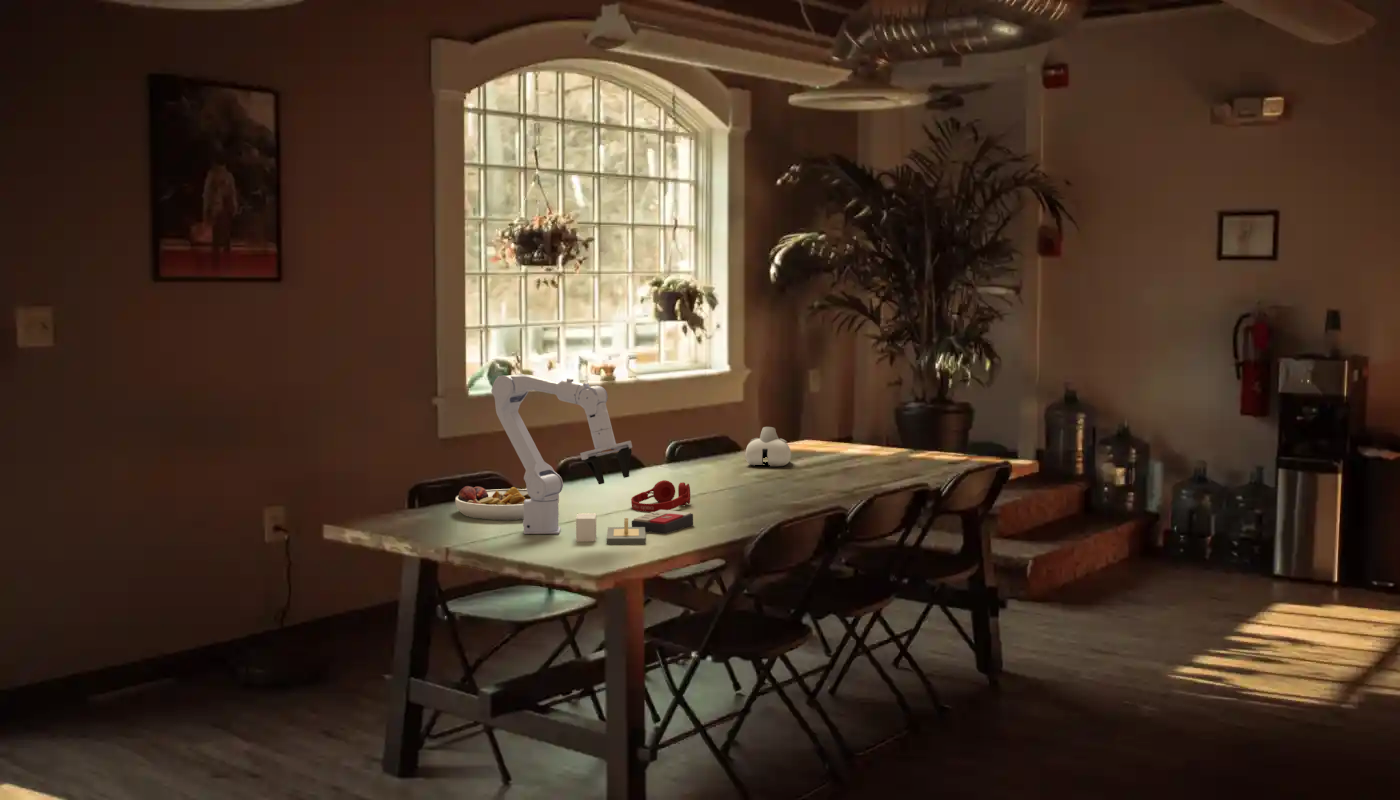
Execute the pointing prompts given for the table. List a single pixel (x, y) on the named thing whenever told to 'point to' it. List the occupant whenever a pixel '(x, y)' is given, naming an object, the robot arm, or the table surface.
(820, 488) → the table surface
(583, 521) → the block
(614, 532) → the board
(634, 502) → the headphones
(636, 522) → the calculator
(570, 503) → the table surface
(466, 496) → the bowl
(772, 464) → the off-white rounded lobed piece
